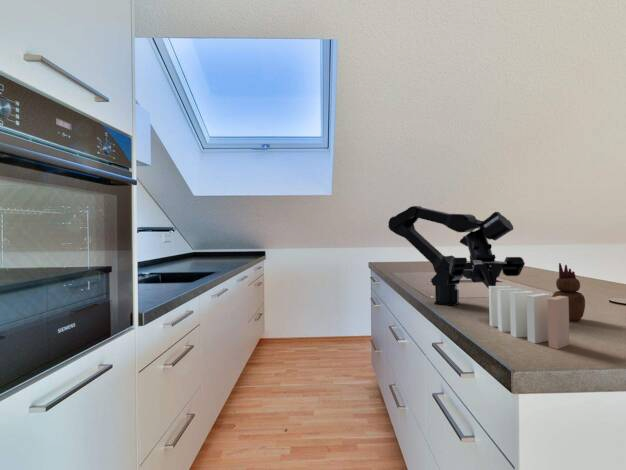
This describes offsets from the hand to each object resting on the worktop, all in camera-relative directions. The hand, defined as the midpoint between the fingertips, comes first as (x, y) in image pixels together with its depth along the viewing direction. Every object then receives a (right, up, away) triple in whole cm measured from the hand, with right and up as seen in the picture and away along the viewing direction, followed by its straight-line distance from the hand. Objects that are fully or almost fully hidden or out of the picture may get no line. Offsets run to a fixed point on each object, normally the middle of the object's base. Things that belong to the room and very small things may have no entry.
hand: (493, 291), depth 87 cm
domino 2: (-1, -8, -9) cm, 12 cm away
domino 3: (0, -8, -13) cm, 15 cm away
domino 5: (+3, -8, -20) cm, 22 cm away
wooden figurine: (+19, -7, -2) cm, 21 cm away
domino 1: (-1, -8, -5) cm, 10 cm away
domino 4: (+1, -8, -17) cm, 18 cm away
